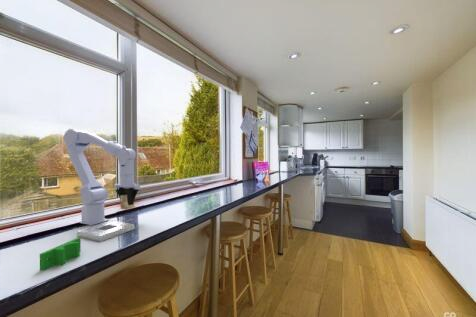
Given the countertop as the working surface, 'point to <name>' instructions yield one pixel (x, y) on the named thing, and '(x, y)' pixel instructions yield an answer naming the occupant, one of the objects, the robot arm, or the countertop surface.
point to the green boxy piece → (60, 254)
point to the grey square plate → (105, 230)
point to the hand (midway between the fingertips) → (127, 204)
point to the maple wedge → (125, 202)
